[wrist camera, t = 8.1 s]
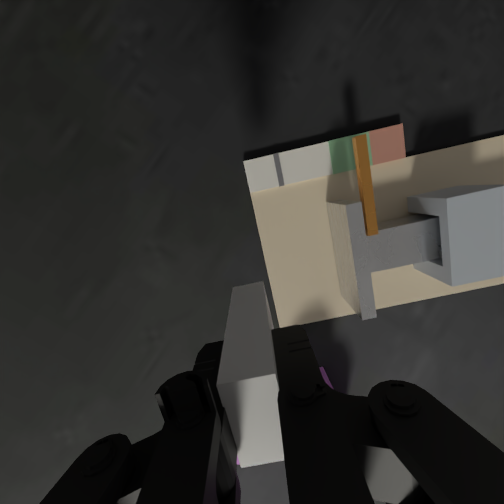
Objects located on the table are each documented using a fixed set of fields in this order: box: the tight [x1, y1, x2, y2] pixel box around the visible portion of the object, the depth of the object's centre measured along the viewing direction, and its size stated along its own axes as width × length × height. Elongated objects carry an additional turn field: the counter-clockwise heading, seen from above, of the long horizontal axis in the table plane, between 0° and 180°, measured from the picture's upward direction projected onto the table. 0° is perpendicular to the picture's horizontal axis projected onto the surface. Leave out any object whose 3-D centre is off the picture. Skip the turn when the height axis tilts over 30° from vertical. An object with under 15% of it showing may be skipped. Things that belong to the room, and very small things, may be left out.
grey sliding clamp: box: [326, 134, 442, 320], centre depth 19 cm, size 12×14×5 cm
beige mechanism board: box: [243, 124, 504, 328], centre depth 20 cm, size 14×20×5 cm
